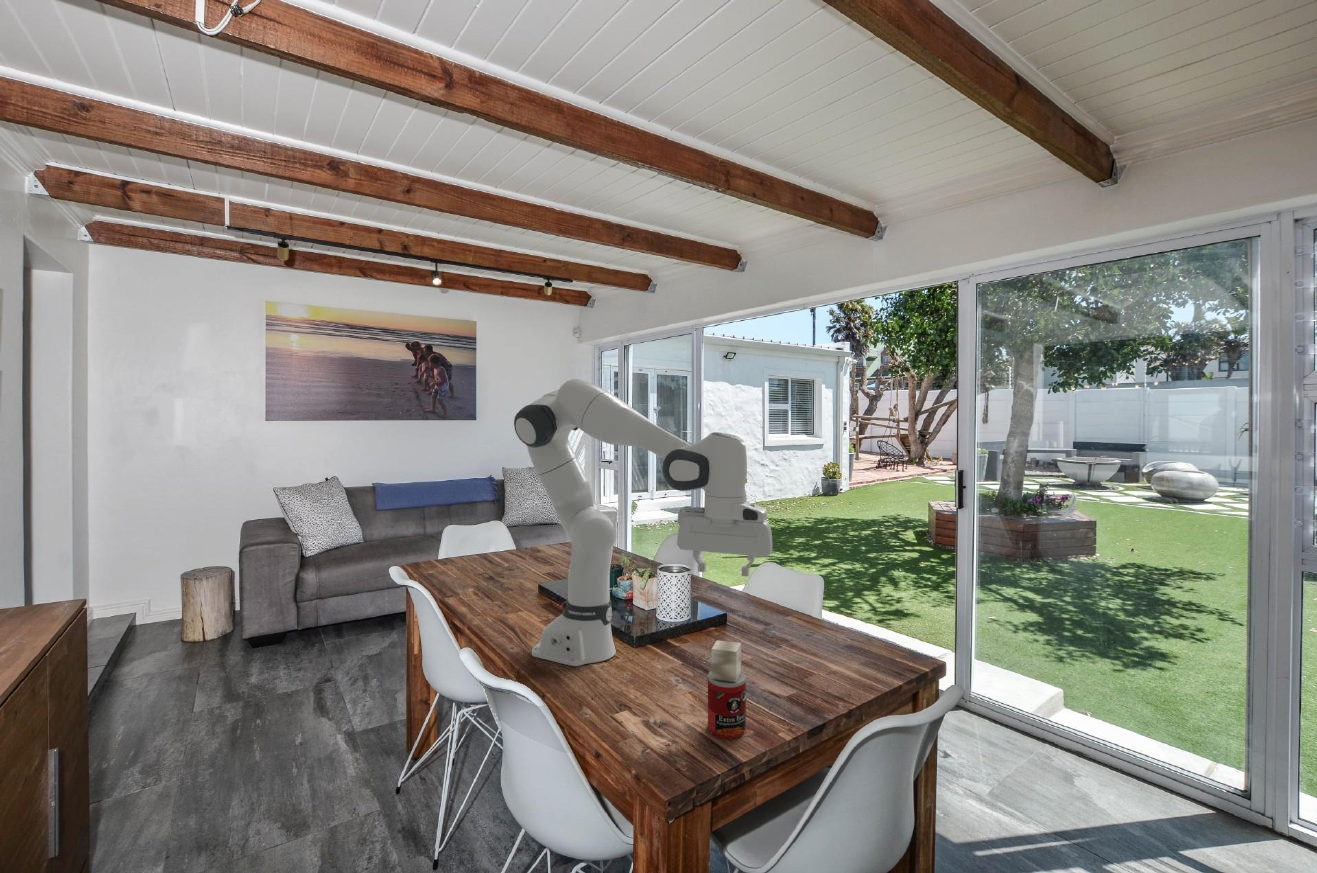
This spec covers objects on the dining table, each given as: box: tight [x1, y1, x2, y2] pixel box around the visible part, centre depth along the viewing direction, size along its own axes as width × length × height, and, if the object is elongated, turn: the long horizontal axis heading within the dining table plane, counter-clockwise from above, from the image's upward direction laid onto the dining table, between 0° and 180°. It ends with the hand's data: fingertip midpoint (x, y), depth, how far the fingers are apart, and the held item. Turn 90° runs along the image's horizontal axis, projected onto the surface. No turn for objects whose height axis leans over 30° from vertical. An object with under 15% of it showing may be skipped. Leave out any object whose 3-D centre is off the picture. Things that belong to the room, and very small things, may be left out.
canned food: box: [707, 670, 747, 740], centre depth 120 cm, size 8×8×11 cm
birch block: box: [711, 640, 742, 682], centre depth 120 cm, size 5×5×6 cm
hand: (723, 573), depth 127 cm, fingers open, 8 cm apart
